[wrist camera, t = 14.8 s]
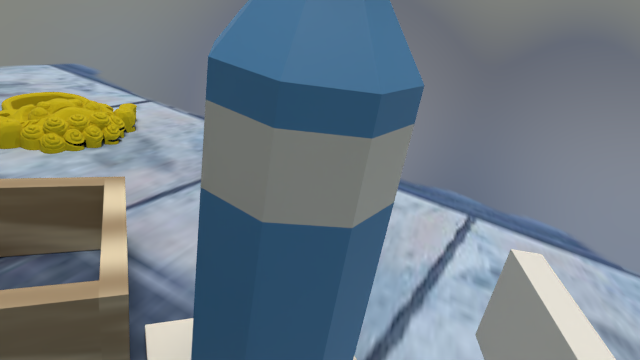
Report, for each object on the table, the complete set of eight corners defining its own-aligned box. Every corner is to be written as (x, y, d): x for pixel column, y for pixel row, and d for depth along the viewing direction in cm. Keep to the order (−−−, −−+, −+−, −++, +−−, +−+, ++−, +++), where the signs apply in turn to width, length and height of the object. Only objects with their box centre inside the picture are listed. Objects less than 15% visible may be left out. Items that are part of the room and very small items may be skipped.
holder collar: (-92, 252, 34) (-111, 180, 31) (126, 237, 40) (124, 176, 37) (-211, 432, 21) (-257, 337, 19) (129, 371, 28) (128, 294, 25)
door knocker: (37, 106, 66) (34, 78, 65) (147, 122, 67) (146, 95, 65) (-49, 144, 51) (-56, 109, 49) (94, 165, 52) (92, 131, 50)
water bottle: (296, 316, 33) (365, -65, 23) (371, 421, 26) (518, -57, 16) (166, 352, 28) (178, -110, 18) (216, 494, 21) (281, -129, 11)
